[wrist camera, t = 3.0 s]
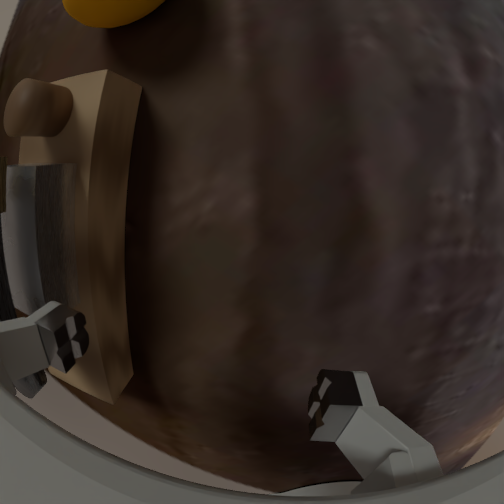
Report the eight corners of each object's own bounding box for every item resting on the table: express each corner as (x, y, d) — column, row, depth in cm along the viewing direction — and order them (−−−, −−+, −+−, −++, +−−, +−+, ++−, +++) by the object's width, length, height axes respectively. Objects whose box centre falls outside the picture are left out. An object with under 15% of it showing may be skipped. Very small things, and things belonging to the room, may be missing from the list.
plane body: (133, 374, 20) (92, 437, 13) (72, 349, 20) (26, 397, 13) (142, 86, 13) (61, 49, 6) (66, 96, 14) (-11, 83, 6)
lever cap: (80, 302, 14) (50, 326, 11) (31, 282, 14) (3, 300, 11) (77, 163, 11) (36, 165, 8) (26, 163, 11) (-10, 167, 9)
